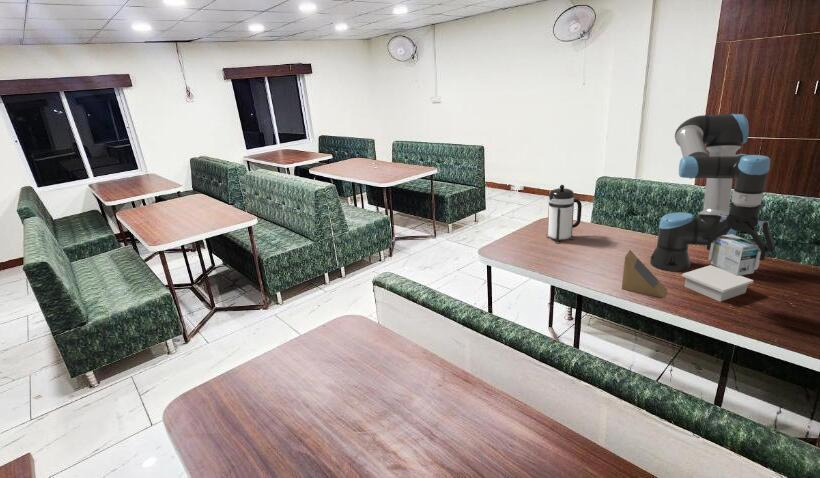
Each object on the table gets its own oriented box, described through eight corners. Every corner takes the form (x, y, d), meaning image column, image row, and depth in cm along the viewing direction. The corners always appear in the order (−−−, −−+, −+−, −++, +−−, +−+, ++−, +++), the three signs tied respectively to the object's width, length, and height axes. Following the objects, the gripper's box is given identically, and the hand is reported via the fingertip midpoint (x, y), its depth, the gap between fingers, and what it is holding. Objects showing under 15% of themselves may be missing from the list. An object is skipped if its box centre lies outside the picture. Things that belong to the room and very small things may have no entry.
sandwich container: (665, 298, 157) (670, 263, 152) (621, 289, 166) (624, 256, 161) (667, 289, 163) (673, 254, 158) (625, 281, 172) (629, 248, 167)
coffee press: (572, 245, 212) (576, 189, 201) (541, 241, 220) (543, 187, 210) (580, 234, 225) (583, 181, 215) (550, 231, 234) (552, 179, 223)
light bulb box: (754, 273, 138) (761, 244, 134) (737, 276, 137) (743, 247, 133) (726, 260, 147) (732, 233, 143) (709, 263, 146) (715, 236, 142)
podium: (680, 286, 164) (682, 273, 162) (708, 277, 169) (710, 265, 167) (720, 303, 150) (723, 290, 148) (750, 293, 155) (753, 280, 153)
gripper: (698, 201, 140) (688, 258, 148) (793, 213, 122) (776, 277, 130) (704, 195, 144) (694, 251, 152) (797, 206, 127) (780, 268, 135)
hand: (732, 263), depth 141 cm, fingers closed on light bulb box, 12 cm apart
